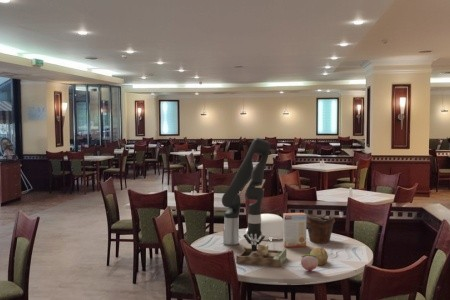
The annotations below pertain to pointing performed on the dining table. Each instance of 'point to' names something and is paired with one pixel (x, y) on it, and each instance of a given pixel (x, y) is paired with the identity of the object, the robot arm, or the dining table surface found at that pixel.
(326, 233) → the brown plant pot
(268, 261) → the wooden divided tray
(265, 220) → the dome cover
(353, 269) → the dining table surface
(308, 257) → the decorative fruit
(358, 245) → the dining table surface
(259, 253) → the maple block
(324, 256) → the bread roll
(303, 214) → the cracker box
